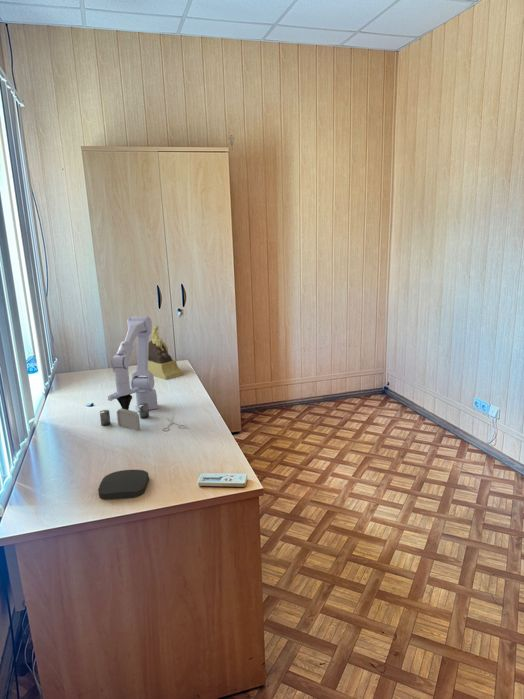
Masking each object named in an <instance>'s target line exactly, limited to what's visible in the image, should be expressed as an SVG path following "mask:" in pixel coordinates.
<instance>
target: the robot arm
mask: <svg viewBox="0 0 524 699" xmlns="http://www.w3.org/2000/svg"><path fill="white" fill-rule="evenodd" d="M151 319H152V318H151V317H150V316H129V317H128V318H127V321H126V324H127V325H126V326H127V332H126V336H125V339H124V340H123V341H121V342H120V345H119V346H118V349H117V352H116V353H115V355H113V356H112V357H111V359H110V367H111V369H112V371H113V373H114V378H115V379H114V380H115V388H116V391H115V392H114V393H111V394H109V395H107V401H110V402H111V401H113V400H117V401H118V404H120V407H121V408H122V409H126V410H130V404H131V401H132V399H133V395H132V394H135V397H136V398H135V400H136V405H135V406H134V407H135V409H136V412H137V413H138V412H139V413H140V410H139V405H140V404H143V403H147V404H148V408H149V411H151V410H157V409H159V407H158V405H159V404H158V397H157V396H158V395H157V392H156V391H157V390H156V388H154V387H155V379H154V377H155V376H153V374H152V373H151V372H150V371H149V370H148V348H149V342H150V341H149V340H150V336H151V334H152V331H153V322H152V320H151ZM136 337H137V357H136V358H137V359H136V360H137V362H136V363H137V364H136V365H137V366H136V371H134V372H133V373H132V375H131V380H130V375H129V374H130V373H129V372H130V371H129V367H130V365H131V359H132V358H131V356H132V353H133V350H134V347H135V346H134V342H135V340H136Z"/></svg>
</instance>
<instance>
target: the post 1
mask: <svg viewBox="0 0 524 699" xmlns="http://www.w3.org/2000/svg"><path fill="white" fill-rule="evenodd" d="M110 415H111V414H110V410H109V409H102V410H100V411H99V419H100V425H101V426H102V427H108V426H110V425H111V424H112V422H111V416H110Z"/></svg>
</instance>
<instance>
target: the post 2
mask: <svg viewBox="0 0 524 699" xmlns="http://www.w3.org/2000/svg"><path fill="white" fill-rule="evenodd" d="M139 410H140V412H139V419H141V420H145V419H146V420H147V419H148V418H149V419H150V410H149V408H148V404H147V403H143V404H140V405H139Z"/></svg>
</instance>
